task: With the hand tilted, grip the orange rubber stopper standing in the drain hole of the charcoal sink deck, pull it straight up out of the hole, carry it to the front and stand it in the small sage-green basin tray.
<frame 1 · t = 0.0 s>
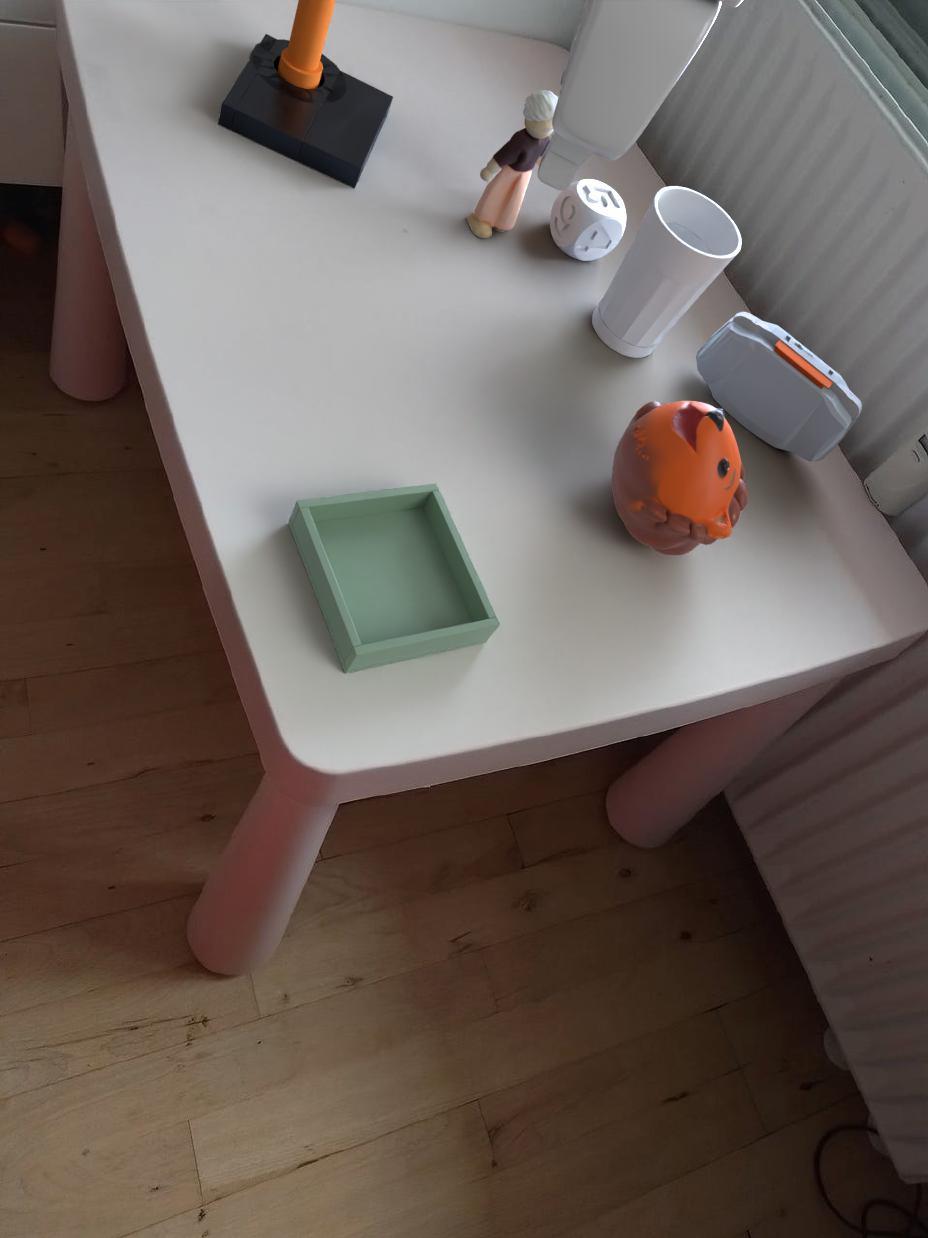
hand: (562, 131, 54), 24 cm above the table, tool pointing down, fingers open, 8 cm apart
basin: (387, 583, 64), on the table
die: (574, 243, 90), on the table
gray clasp case: (746, 420, 87), on the table
cup: (622, 331, 87), on the table
orange fox figurine: (644, 516, 76), on the table
grandmother figurine: (490, 224, 87), on the table
sink deck: (306, 119, 84), on the table
plug: (294, 92, 86), resting in sink deck
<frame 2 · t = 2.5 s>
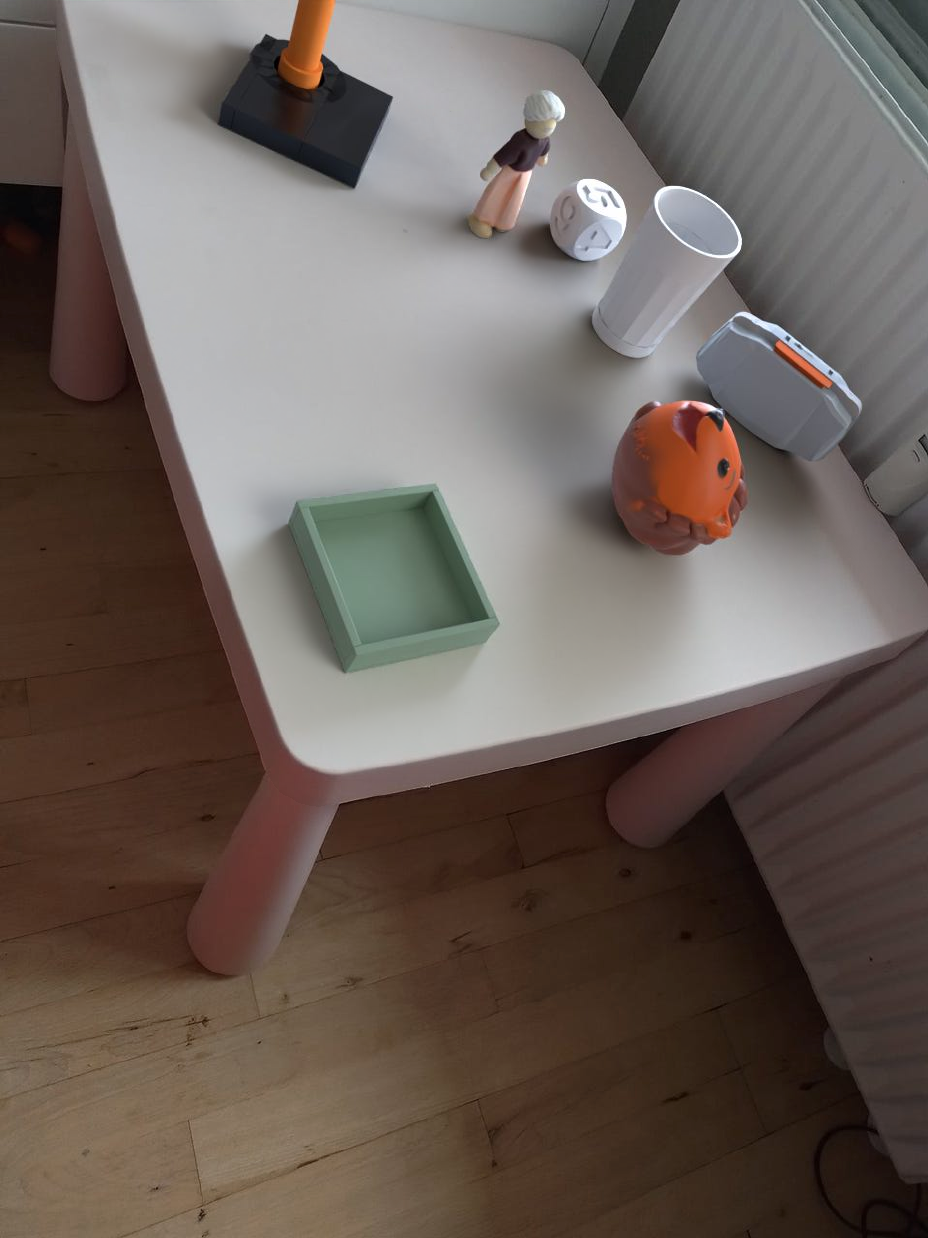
nothing on the table moved.
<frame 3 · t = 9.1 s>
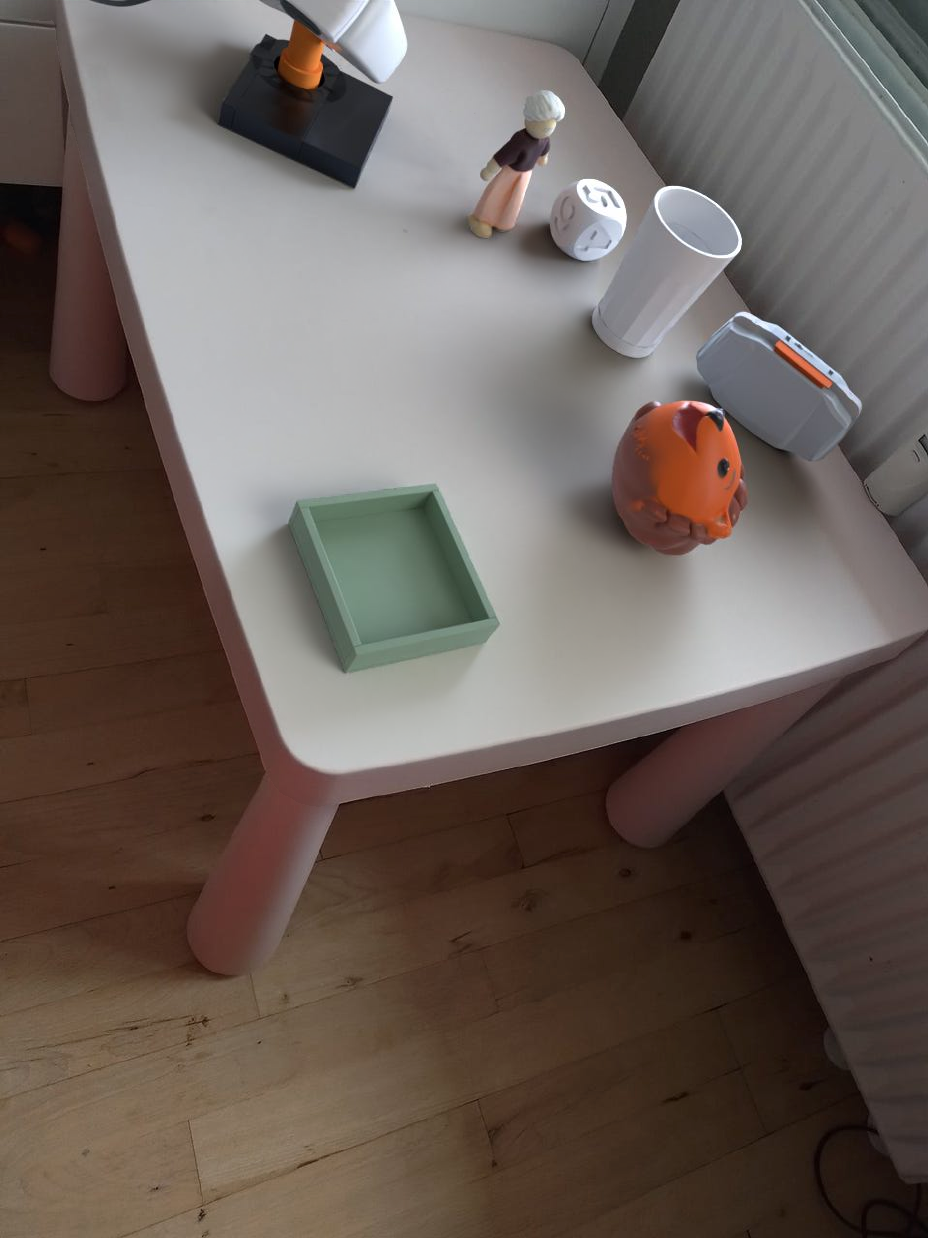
hand: (315, 24, 81), 6 cm above the table, tool tilted 45°, fingers closed on plug, 3 cm apart
plug: (294, 92, 86), resting in sink deck, touching gripper
everything else where it was.
when the fingers open (6 cm above the table, at t = 22.2 s): plug stays where it is, resting on basin.
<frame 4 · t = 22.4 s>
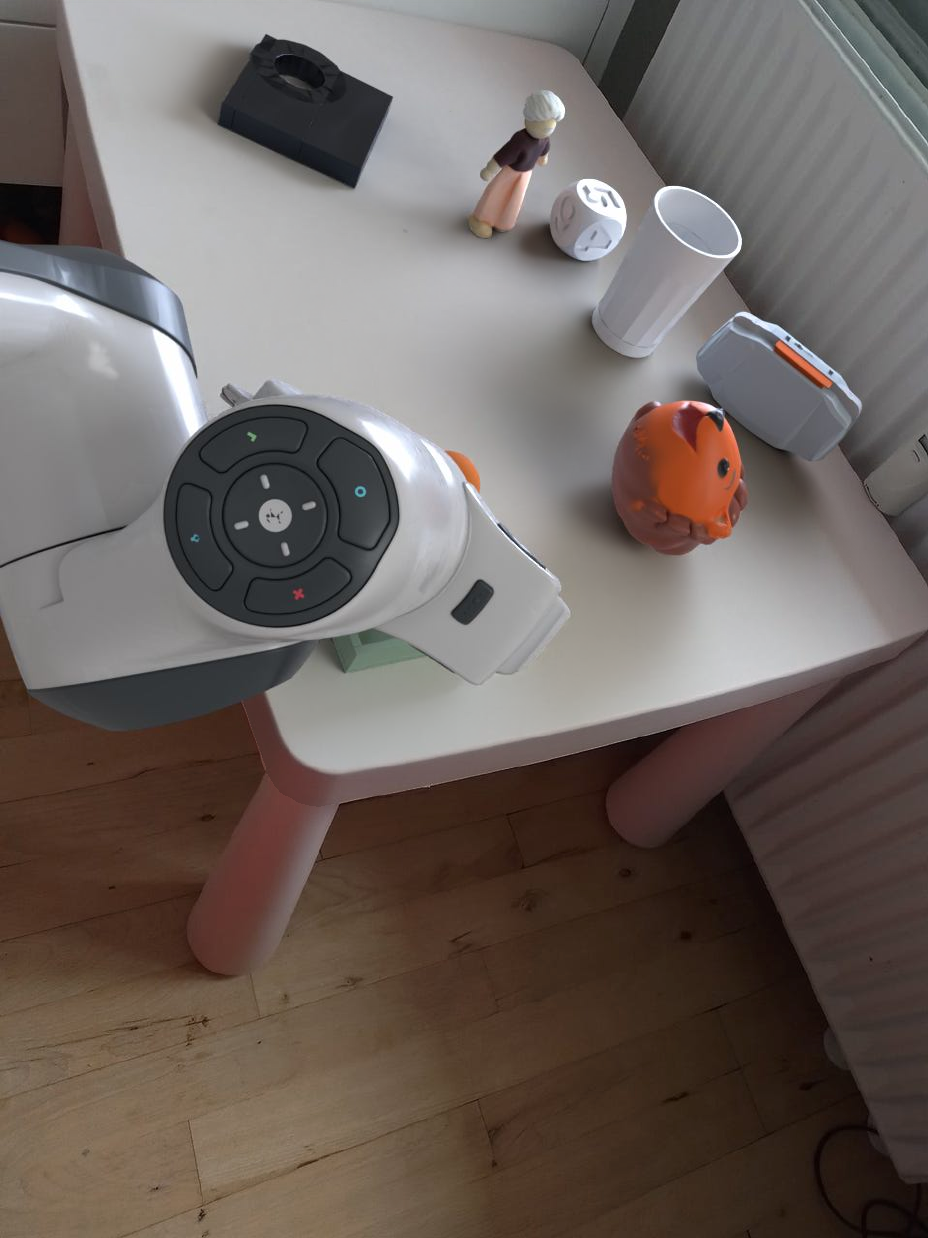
hand: (425, 524, 59), 6 cm above the table, tool tilted 45°, fingers open, 4 cm apart
plug: (389, 581, 63), point 1 cm above the table, touching basin
everything else where it was.
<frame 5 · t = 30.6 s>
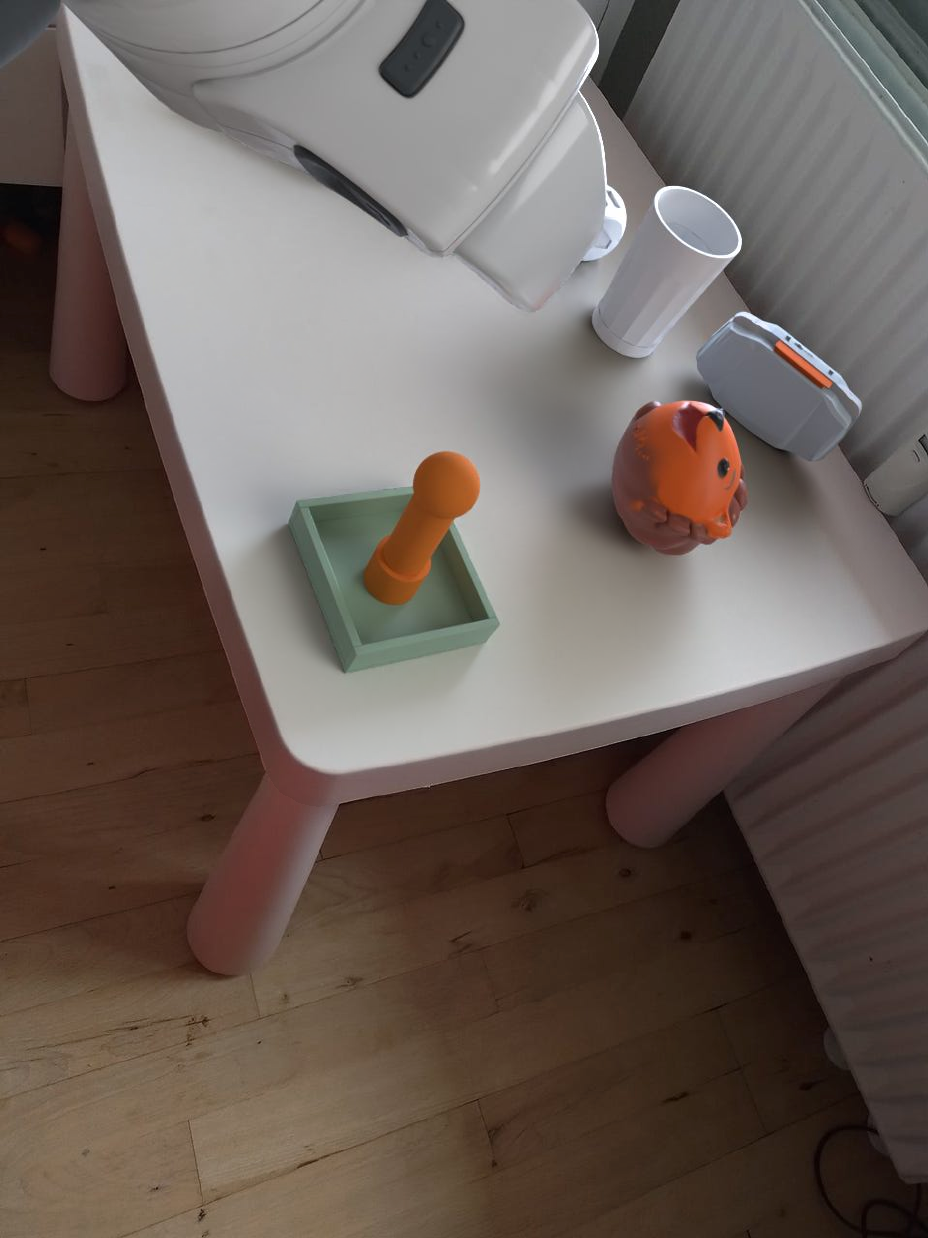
hand: (366, 147, 37), 29 cm above the table, tool tilted 45°, fingers open, 8 cm apart
nothing on the table moved.
at the end: plug inside the target area in the basin (0.2 cm from its centre), point 0.5 cm above the basin's base; plug touching basin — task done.
